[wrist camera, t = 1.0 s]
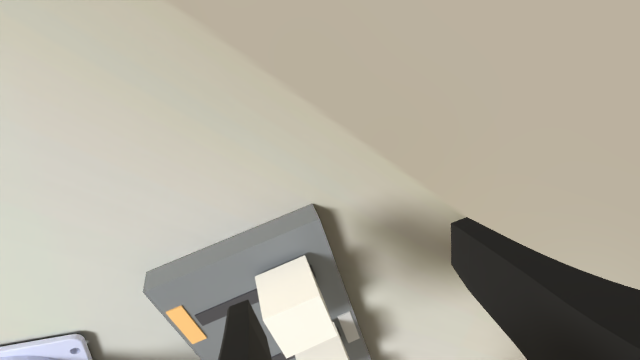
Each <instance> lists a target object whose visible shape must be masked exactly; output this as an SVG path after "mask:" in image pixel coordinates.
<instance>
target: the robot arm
mask: <svg viewBox="0 0 640 360" xmlns="http://www.w3.org/2000/svg"><path fill="white" fill-rule="evenodd" d="M451 264H452V266H453V268H454V269H455V271H456V272H457V274H458V275H459V277H460V278H461V280H462V281H463V283H464V284H465V286H466V287H467V288H468V290H469V291H470V292H471V294H472V295H473V296H474V297H475V298H476V299H477V301H478V302H479V303H480V304H481V305H482V306H483V308H484V309H485V310H486V311H487V312H488V313H489V315H490V316H491V317H492V318H493V319H494V320H495V322H496V323H497V324H498V325H499V326H500V327H501V329H502V330H503V331H504V332H505V333H506V334H507V335H508V337H509V338H510V339H511V340H512V341H513V342H514V344H515V345H516V346H517V347H518V349H519V350H520V351H521V352H522V354H523V355H524V356H525V357H526V359H527V360H640V290H638V289H634V288H631V287H628V286H624V285H621V284H618V283H615V282H612V281H609V280H606V279H603V278H601V277H598V276H595V275H592V274H589V273H587V272H584V271H581V270H578V269H576V268H574V267H571V266H569V265H566V264H564V263H561V262H559V261H557V260H554V259H552V258H550V257H547V256H545V255H543V254H541V253H538V252H536V251H534V250H532V249H530V248H527V247H526V246H523V245H521V244H519V243H517V242H515V241H513V240H511V239H509V238H507V237H505V236H503V235H501V234H499V233H497V232H495V231H493V230H491V229H489V228H487V227H485V226H483V225H481V224H479V223H478V222H476V221H474V220H472V219H469V218H467V217H466V218H464V219H461V220H458V221H456V222H453V223H451ZM0 360H93V359H92V357H91V354H90V351H89V349H88V346H87V344H86V341H85V338H84V337H83V336H81V335H79V334H71V335H65V336H60V337H54V338H48V339H42V340H37V341H31V342H25V343H19V344H14V345H8V346H2V347H0ZM218 360H272V358H271V353H270V349H269V345H268V341H267V337H266V335H265V333H264V331H263V328H262V326H261V324H260V322H259V320H258V318H257V316H256V314H255V312H254V310H253V308H252V306H251V304H250V302H249V300H245V301H243V302H240V303H237V304H235V305H232V306H230V307H229V308H228V310H227V317H226V323H225V329H224V334H223V339H222V344H221V349H220V353H219V357H218Z"/></svg>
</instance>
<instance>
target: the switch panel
mask: <svg viewBox="0 0 640 360" xmlns="http://www.w3.org/2000/svg"><path fill="white" fill-rule="evenodd" d="M304 255H305V256H306V259H307V261H308V263H309V266H310V268H311V270H312V273H313V275H314V277H315V280H316V282H317V284H318V287H319V289H320V291H321V294H322V296H323V299H324V301H325V304H326V307H327V309H328V312H329V315H330V317H331V320H332V322H334V324H335V326H336V328H337V331H338V333H339V335H340V338H341V340H342V342H343V345H344V347H345V349H346V352H347V354H348V357H349V360H371V357H370V355H369V352H368V349H367V346H366V344H365V341H364V338H363V336H362V333H361V330H360V327H359V325H358V322H357V319H356V317H355V314H354V311H353V308H352V306H351V303H350V300H349V297H348V295H347V292H346V289H345V287H344V284H343V281H342V278H341V276H340V273H339V270H338V268H337V265H336V262H335V259H334V257H333V254H332V251H331V248H330V246H329V243H328V240H327V238H326V235H325V232H324V229H323V227H322V224H321V221H320V219H319V216H318V214H317V212H316V210H315V208H314V206H313V204H311V205H308V206H306V207H303V208H301V209H298V210H296V211H294V212H291V213H289V214H286V215H284V216H282V217H279V218H277V219H274V220H272V221H269V222H267V223H265V224H262V225H260V226H257V227H255V228H252V229H250V230H248V231H245V232H243V233H240V234H238V235H235V236H233V237H231V238H228V239H226V240H223V241H221V242H219V243H216V244H214V245H211V246H209V247H206V248H204V249H202V250H199V251H197V252H194V253H192V254H189V255H187V256H185V257H182V258H180V259H177V260H175V261H172V262H170V263H168V264H165V265H163V266H160V267H158V268H155V269H153V270H151V271H148V272H146V277H145V283H144V289H143V293H144V294H145V295H146V296H147V298H148V299H149V300H150V301H151V302H152V303H153V304H154V306H155V307H156V308H157V309H158V310H159V311H160V312H161V314H162V315H163V316H164V317H165V318H166V319H167V321H168V322H169V323H170V324H171V325H172V326H173V327H174V329H175V330H176V331H177V332H178V333H179V334H180V335H181V337H182V338H183V339H184V340H185V341H186V342H187V344H188V345H189V346H190V347H191V348H192V349H193V350H194V352H195V353H196V354H197V355H198V356H199V357H200V359H201V360H218V357H219V353H220V349H221V344H222V339H223V334H224V329H225V323H226V317H227V310H228V308H229V307H230V306H232V305H235V304H237V303H240V302H243V301H245V300H249V302H250V304H251V306H252V308H253V310H254V312H255V314H256V316H257V318H258V320H259V322H260V324H261V326H262V328H263V331H264V333H265V335H266V337H267V341H268V345H269V349H270V353H271V358H272V360H296V358H295V355H293V356H291V357H289V358H287V359H286V357H285V356H284V354H283V352H282V351H281V349H280V347H279V346H278V344H277V343H276V341H275V339H274V338H273V336H272V334H271V333H270V331H269V330H268V328H267V326H266V325H265V323H264V321H263V319H262V313H261V308H260V303H259V297H258V292H257V286H256V281H255V276H257V275H260V274H262V273H264V272H267V271H269V270H271V269H274V268H276V267H278V266H281V265H283V264H285V263H288V262H290V261H292V260H295V259H297V258H299V257H302V256H304Z"/></svg>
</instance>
